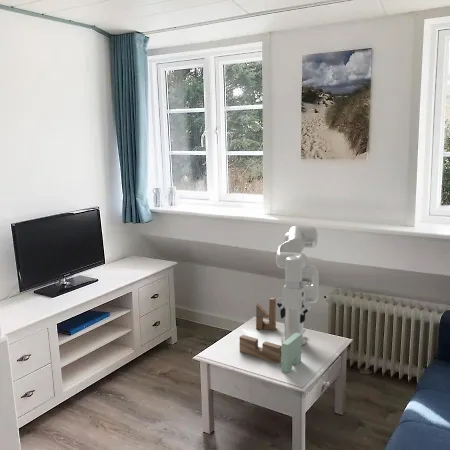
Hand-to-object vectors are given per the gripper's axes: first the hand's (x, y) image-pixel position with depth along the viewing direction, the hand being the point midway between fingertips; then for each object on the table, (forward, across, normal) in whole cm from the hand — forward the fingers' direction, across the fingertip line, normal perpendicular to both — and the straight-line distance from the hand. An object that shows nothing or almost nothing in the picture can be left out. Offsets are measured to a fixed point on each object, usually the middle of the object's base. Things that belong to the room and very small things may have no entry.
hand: (292, 319), depth 218 cm
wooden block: (+23, +31, -31) cm, 50 cm away
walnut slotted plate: (+23, +17, -1) cm, 29 cm away
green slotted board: (+23, 0, -1) cm, 23 cm away
